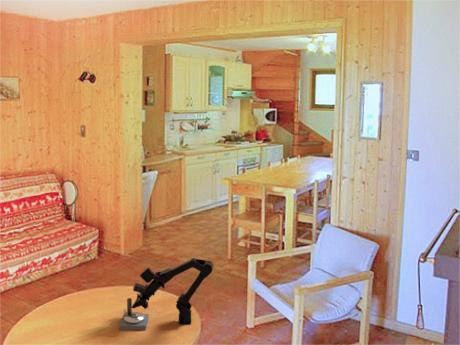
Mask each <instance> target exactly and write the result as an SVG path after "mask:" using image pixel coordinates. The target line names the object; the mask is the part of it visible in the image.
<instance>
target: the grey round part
mask: <svg viewBox="0 0 460 345" xmlns="http://www.w3.org/2000/svg"><path fill="white" fill-rule="evenodd" d="M126 300H127V301H126V308H127V309H126V315H125V316H124V321H125V322H126V323H130V324H137V323H140V322H142V321H144V319H145V316H144V314H145V313H142V312H139V311H133V308H132V306H133V304H132V302H133V301H132V298H131V297H129V298H127V299H126Z"/></svg>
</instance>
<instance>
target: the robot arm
mask: <svg viewBox="0 0 460 345" xmlns="http://www.w3.org/2000/svg"><path fill="white" fill-rule="evenodd" d="M214 267H215V265H214V263H213V261H211V260H207V259H206V260H205V259H200V258H196V257H192V258H190V259H188V260H187V261H184V262H183V263H181V264H179V265H177V266H174V267H173V268H167V269H163V270H161V271H156V272H153V270H152V269H151V268H150V267H146V269H144V270H142V272H141V273H140V274H139V277H140V278H141V279H142V281H144V282H145V283H147V284H145V285H143V284H141V283H138V282H134V285H133V287H132V288H133V289H132V291H133V292H134V293H135V292H136V293H137V294H136V299H135V301H134V303H133V304H132V309H136V308H138V307H142V308H143V309H144V310H147V309H148V307H149V300H150V298H151V297H152V296H155V293H157V291H158V290H159V289H160V288H162V289H163V290H165V288H166V284H167V283H168V282H170V281H171V280H172V279H173V278H174V277H176V276H178V275H179V274H182V273H184V272H186V271H188V270H190V269H193V268H194V269H195V270H197V271H199V273H198V275H197V276H196V277H195V279H194V280H193V281H192V283H191V284H190V286H189V287H188V289H187V290H186V292H184V293H183V292H181V294H180V296H178V298H177V299H176V302H175V303H176V304H175V308H176V310H178V312H179V313H178V322H179V323H178V324H179V325H191V324H192V310H191V309H192V308H193V307H192V306H193V305H192V304H191V303H190V301H191V298H192V297H193V296H194V294H195V293H196V291H197V289H198V288H199V286H200V285H201V284H202V282H203V281H205V279H206V278H207V277H209V276H210V275H211V273H212V272H213V269H214ZM148 283H149V284H148Z"/></svg>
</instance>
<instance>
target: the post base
mask: <svg viewBox="0 0 460 345" xmlns="http://www.w3.org/2000/svg"><path fill="white" fill-rule="evenodd" d="M126 312H127V309H125V308H124V309H123V314H122V318H121V320H120V322H119V326H118V327H119V331H121V330H122V331H146V329H147V326H148V322H149V318H150V317H149V316H150V315H149V313H143V314H144V316H145V319H144V321H142V322H140V323H137V324H130V323H126V322H125V321H124V316H125V315H126Z"/></svg>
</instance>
